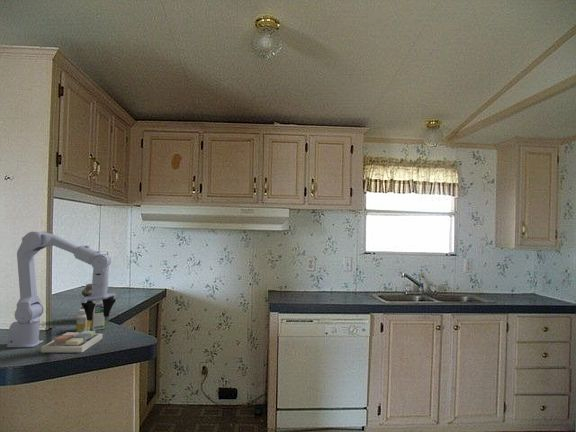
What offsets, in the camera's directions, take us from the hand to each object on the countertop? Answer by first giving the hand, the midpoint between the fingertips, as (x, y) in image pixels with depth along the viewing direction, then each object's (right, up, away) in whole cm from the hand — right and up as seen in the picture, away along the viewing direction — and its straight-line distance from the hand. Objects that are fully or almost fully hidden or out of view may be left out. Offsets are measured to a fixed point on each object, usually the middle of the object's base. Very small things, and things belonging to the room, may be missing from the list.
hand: (97, 318), depth 152 cm
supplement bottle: (-15, -11, +17) cm, 25 cm away
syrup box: (-12, -11, +23) cm, 28 cm away
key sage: (-6, -8, +3) cm, 11 cm away
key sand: (-5, -8, -8) cm, 12 cm away
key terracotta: (-11, -8, -6) cm, 14 cm away
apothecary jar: (-21, -11, +38) cm, 45 cm away
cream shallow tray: (-8, -10, -3) cm, 13 cm away
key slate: (-5, -8, -3) cm, 10 cm away
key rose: (-11, -8, 0) cm, 14 cm away
